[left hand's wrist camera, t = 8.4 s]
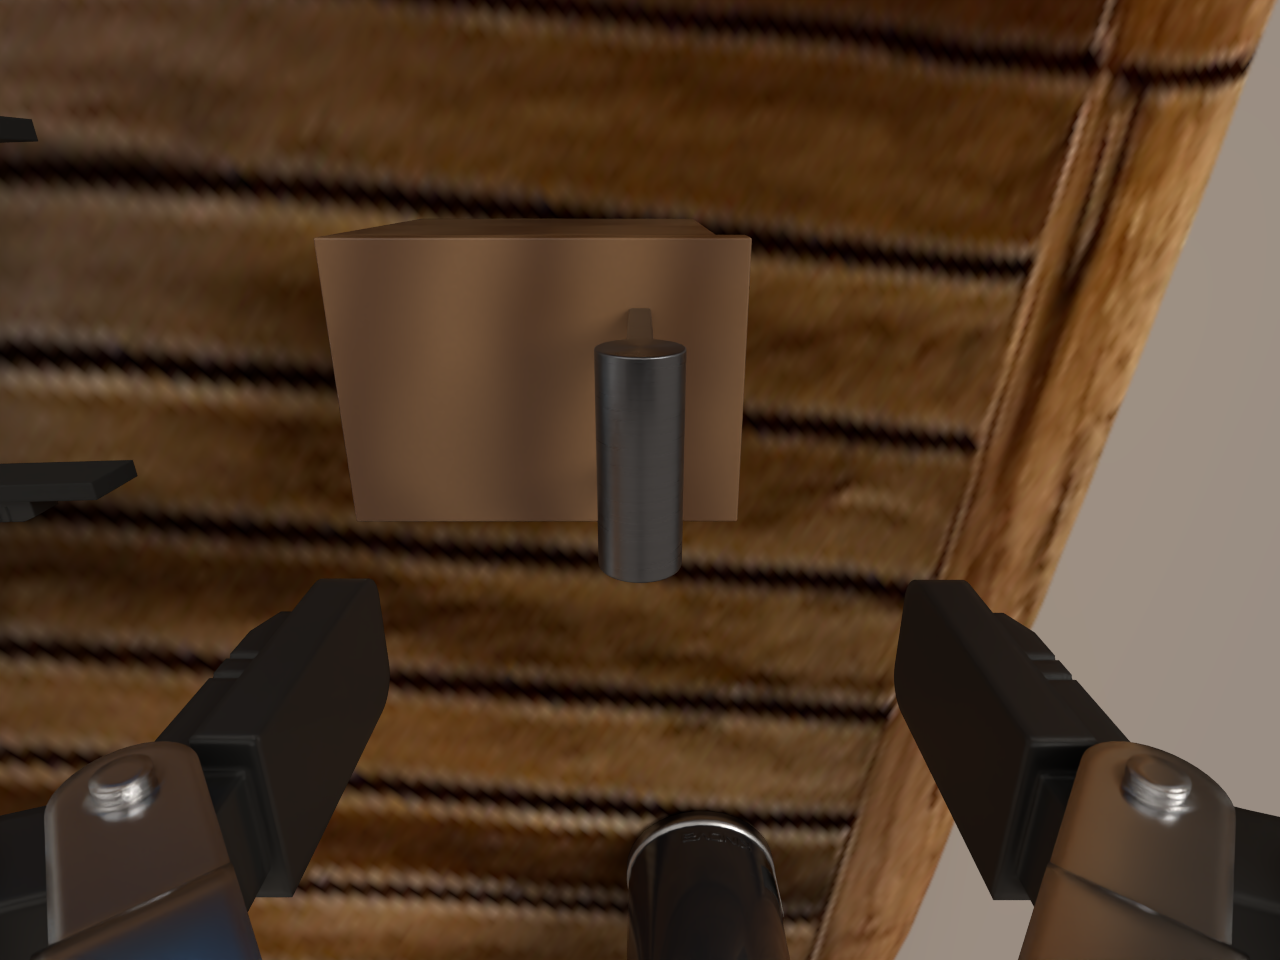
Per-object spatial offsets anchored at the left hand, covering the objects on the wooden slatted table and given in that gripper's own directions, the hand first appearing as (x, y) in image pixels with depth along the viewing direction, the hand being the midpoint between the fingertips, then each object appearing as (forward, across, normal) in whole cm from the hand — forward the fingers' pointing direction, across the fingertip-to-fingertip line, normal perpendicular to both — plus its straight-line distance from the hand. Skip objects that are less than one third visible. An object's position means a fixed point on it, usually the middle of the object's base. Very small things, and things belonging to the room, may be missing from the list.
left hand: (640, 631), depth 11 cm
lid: (+16, +3, 0) cm, 16 cm away
